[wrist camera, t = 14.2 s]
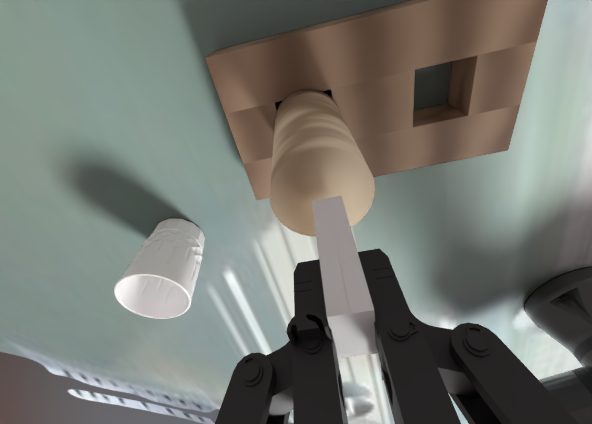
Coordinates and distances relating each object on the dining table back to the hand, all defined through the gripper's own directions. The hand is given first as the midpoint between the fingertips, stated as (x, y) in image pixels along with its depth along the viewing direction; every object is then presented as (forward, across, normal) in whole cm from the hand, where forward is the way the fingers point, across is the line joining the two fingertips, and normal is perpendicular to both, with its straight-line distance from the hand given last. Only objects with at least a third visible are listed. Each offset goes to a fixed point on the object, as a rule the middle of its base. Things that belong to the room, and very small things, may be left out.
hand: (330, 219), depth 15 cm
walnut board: (+18, -6, 0) cm, 19 cm away
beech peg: (+18, 0, 0) cm, 18 cm away
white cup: (+18, +20, +12) cm, 30 cm away
